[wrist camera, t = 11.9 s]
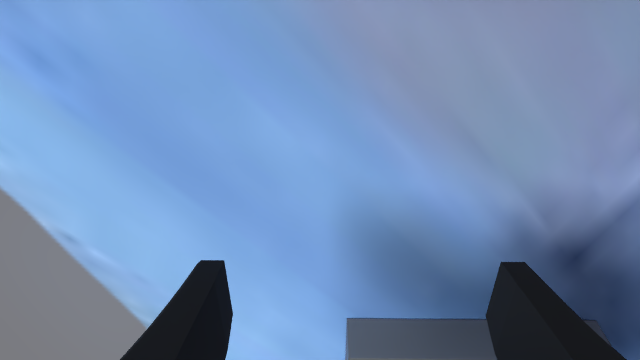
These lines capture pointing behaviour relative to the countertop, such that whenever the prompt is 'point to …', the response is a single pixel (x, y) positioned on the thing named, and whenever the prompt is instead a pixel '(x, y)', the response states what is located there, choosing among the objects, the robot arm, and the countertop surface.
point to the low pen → (424, 339)
